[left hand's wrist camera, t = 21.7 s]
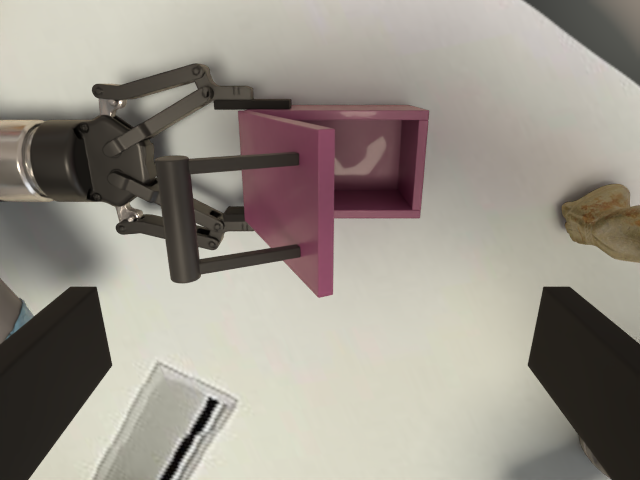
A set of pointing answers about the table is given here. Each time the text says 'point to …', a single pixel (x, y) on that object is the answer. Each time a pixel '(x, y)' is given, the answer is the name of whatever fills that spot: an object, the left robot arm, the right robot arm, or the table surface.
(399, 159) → the chest
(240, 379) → the table surface
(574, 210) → the sculpture
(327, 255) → the lid
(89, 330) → the left robot arm
